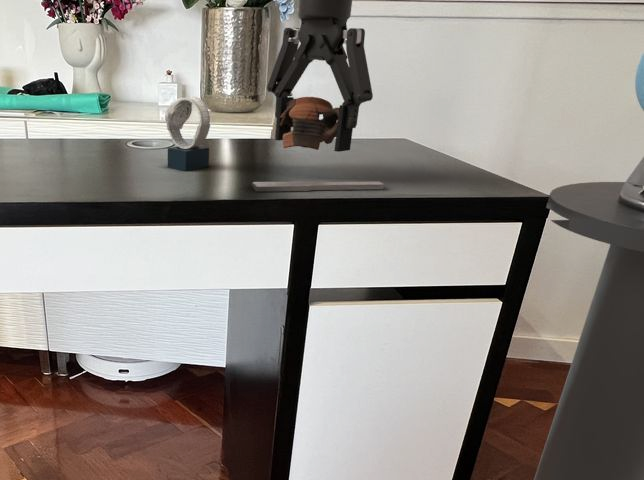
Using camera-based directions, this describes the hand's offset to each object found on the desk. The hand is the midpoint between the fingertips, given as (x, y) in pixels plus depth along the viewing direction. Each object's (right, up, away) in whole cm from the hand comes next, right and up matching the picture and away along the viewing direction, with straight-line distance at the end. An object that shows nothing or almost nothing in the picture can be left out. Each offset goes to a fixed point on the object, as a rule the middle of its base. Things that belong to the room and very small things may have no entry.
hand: (311, 145), depth 101 cm
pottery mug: (0, 0, 0) cm, 0 cm away
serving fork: (-1, -9, -8) cm, 12 cm away
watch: (-20, -2, +6) cm, 21 cm away
